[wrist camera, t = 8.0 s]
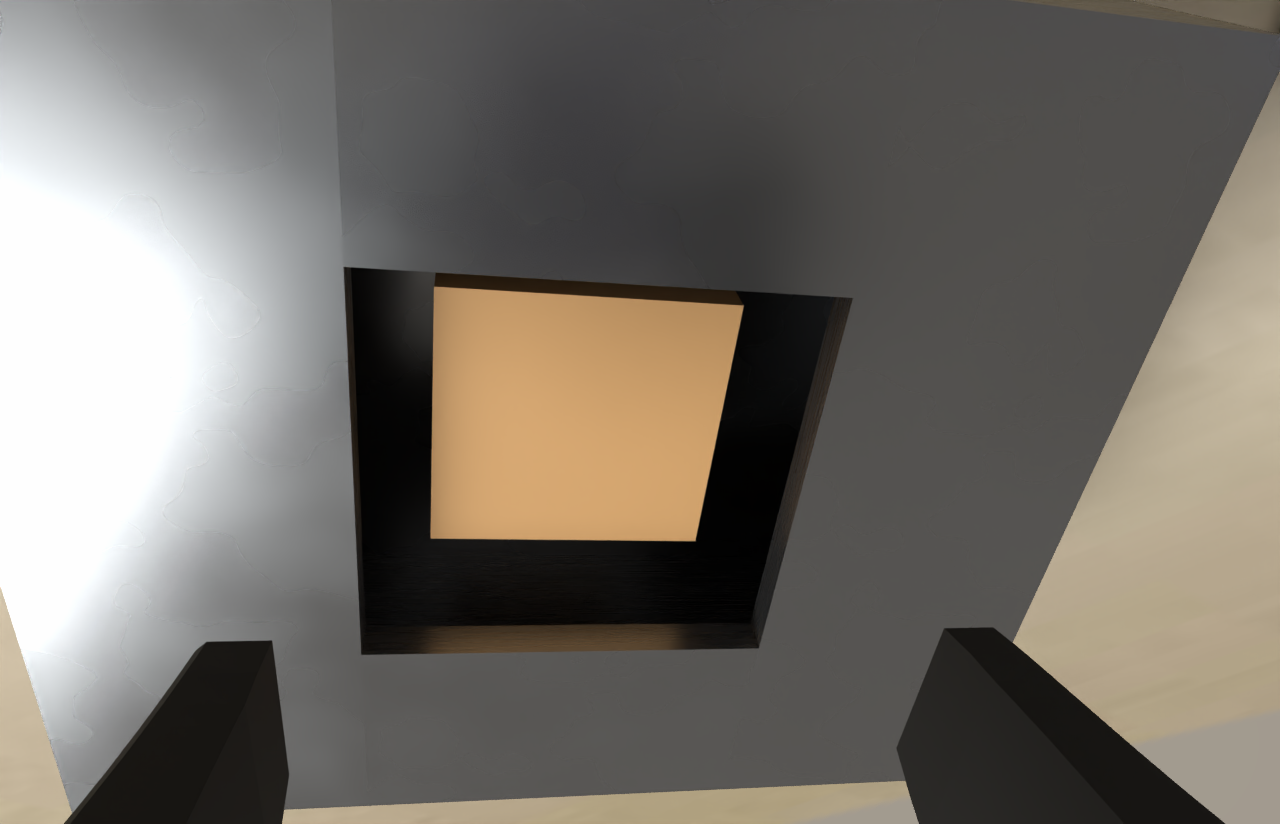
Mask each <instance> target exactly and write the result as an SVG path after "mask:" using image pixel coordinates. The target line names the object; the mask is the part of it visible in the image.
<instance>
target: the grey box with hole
mask: <svg viewBox="0 0 1280 824" xmlns="http://www.w3.org/2000/svg"><path fill="white" fill-rule="evenodd" d="M1279 71H1280V34H1276V33H1272V32H1267V31H1263V30H1258V29H1254V28H1250V27H1245V26H1241V25H1236V24H1232V23H1228V22H1223V21H1219V20H1214V19H1210V18H1205V17H1201V16H1197V15H1192V14H1188V13H1183V12H1179V11H1175V10H1170V9H1166V8H1161V7H1157V6H1152V5H1148V4H1144V3H1139V2H1135V1H1130V0H0V585H1V588H2V592H3V595H4V598H5V601H6V604H7V607H8V611H9V614H10V617H11V620H12V623H13V626H14V630H15V633H16V636H17V639H18V642H19V646H20V649H21V652H22V655H23V658H24V661H25V665H26V668H27V671H28V674H29V677H30V680H31V684H32V687H33V690H34V693H35V696H36V700H37V703H38V706H39V709H40V712H41V715H42V719H43V722H44V725H45V728H46V731H47V734H48V738H49V741H50V744H51V747H52V750H53V754H54V757H55V760H56V763H57V766H58V769H59V773H60V776H61V779H62V782H63V785H64V788H65V792H66V795H67V798H68V801H69V804H70V808H71V811H72V813H73V812H74V811H75V809H76V808H77V807H78V806H79V805H80V803H81V802H82V801H83V800H84V798H85V797H86V796H87V795H88V793H89V792H90V791H91V790H92V788H93V787H94V786H95V785H96V784H97V782H98V781H99V780H100V779H101V777H102V776H103V775H104V774H105V772H106V771H107V770H108V769H109V767H110V766H111V765H112V763H113V762H114V761H115V759H116V758H117V757H118V756H119V754H120V753H121V752H122V750H123V749H124V748H125V746H126V745H127V744H128V743H129V741H130V740H131V739H132V737H133V736H134V735H135V733H136V732H137V731H138V729H139V728H140V727H141V725H142V724H143V723H144V721H145V720H146V719H147V717H148V716H149V715H150V713H151V712H152V711H153V709H154V708H155V707H156V705H157V704H158V703H159V701H160V700H161V698H162V697H163V696H164V694H165V693H166V691H167V690H168V689H169V687H170V686H171V685H172V683H173V682H174V680H175V679H176V678H177V676H178V675H179V673H180V672H181V671H182V669H183V668H184V666H185V665H186V663H187V662H188V661H189V659H190V658H191V656H192V655H193V653H194V652H195V650H197V649H198V648H199V647H200V646H202V645H203V644H204V643H205V642H214V641H269V640H272V643H273V651H274V658H275V666H276V674H277V682H278V690H279V698H280V706H281V713H282V721H283V729H284V737H285V745H286V753H287V761H288V768H289V780H288V787H287V793H286V800H285V806H284V810H286V809H307V808H329V807H350V806H372V805H393V804H415V803H436V802H458V801H479V800H500V799H522V798H543V797H565V796H586V795H608V794H629V793H651V792H672V791H694V790H715V789H736V788H758V787H779V786H801V785H822V784H844V783H865V782H887V781H906V780H905V777H904V773H903V770H902V766H901V763H900V759H899V756H898V752H897V749H896V747H897V745H898V742H899V740H900V737H901V735H902V732H903V730H904V727H905V725H906V722H907V720H908V717H909V715H910V712H911V710H912V707H913V705H914V702H915V700H916V697H917V695H918V692H919V690H920V687H921V685H922V682H923V680H924V677H925V675H926V672H927V670H928V667H929V665H930V662H931V660H932V657H933V655H934V652H935V650H936V647H937V645H938V642H939V640H940V637H941V635H942V632H943V630H944V628H980V627H994V628H995V629H996V630H997V631H999V632H1000V633H1001V634H1002V635H1004V636H1005V637H1006V638H1007V639H1009V640H1010V641H1011V642H1012V643H1013V640H1014V638H1015V636H1016V634H1017V632H1018V630H1019V628H1020V625H1021V623H1022V621H1023V619H1024V617H1025V615H1026V613H1027V610H1028V608H1029V606H1030V604H1031V602H1032V600H1033V598H1034V595H1035V593H1036V591H1037V589H1038V587H1039V585H1040V583H1041V580H1042V578H1043V576H1044V574H1045V572H1046V570H1047V568H1048V565H1049V563H1050V561H1051V559H1052V557H1053V555H1054V553H1055V551H1056V548H1057V546H1058V544H1059V542H1060V540H1061V538H1062V536H1063V533H1064V531H1065V529H1066V527H1067V525H1068V523H1069V521H1070V518H1071V516H1072V514H1073V512H1074V510H1075V508H1076V506H1077V503H1078V501H1079V499H1080V497H1081V495H1082V493H1083V491H1084V488H1085V486H1086V484H1087V482H1088V480H1089V478H1090V476H1091V473H1092V471H1093V469H1094V467H1095V465H1096V463H1097V461H1098V458H1099V456H1100V454H1101V452H1102V450H1103V448H1104V446H1105V443H1106V441H1107V439H1108V437H1109V435H1110V433H1111V431H1112V428H1113V426H1114V424H1115V422H1116V420H1117V418H1118V416H1119V414H1120V411H1121V409H1122V407H1123V405H1124V403H1125V401H1126V399H1127V396H1128V394H1129V392H1130V390H1131V388H1132V386H1133V384H1134V381H1135V379H1136V377H1137V375H1138V373H1139V371H1140V369H1141V366H1142V364H1143V362H1144V360H1145V358H1146V356H1147V354H1148V351H1149V349H1150V347H1151V345H1152V343H1153V341H1154V339H1155V336H1156V334H1157V332H1158V330H1159V328H1160V326H1161V324H1162V321H1163V319H1164V317H1165V315H1166V313H1167V311H1168V309H1169V306H1170V304H1171V302H1172V300H1173V298H1174V296H1175V294H1176V291H1177V289H1178V287H1179V285H1180V283H1181V281H1182V279H1183V276H1184V274H1185V272H1186V270H1187V268H1188V266H1189V264H1190V262H1191V259H1192V257H1193V255H1194V253H1195V251H1196V249H1197V247H1198V244H1199V242H1200V240H1201V238H1202V236H1203V234H1204V232H1205V229H1206V227H1207V225H1208V223H1209V221H1210V219H1211V217H1212V214H1213V212H1214V210H1215V208H1216V206H1217V204H1218V202H1219V199H1220V197H1221V195H1222V193H1223V191H1224V189H1225V187H1226V184H1227V182H1228V180H1229V178H1230V176H1231V174H1232V172H1233V169H1234V167H1235V165H1236V163H1237V161H1238V159H1239V157H1240V154H1241V152H1242V150H1243V148H1244V146H1245V144H1246V142H1247V139H1248V137H1249V135H1250V133H1251V131H1252V129H1253V127H1254V125H1255V122H1256V120H1257V118H1258V116H1259V114H1260V112H1261V110H1262V107H1263V105H1264V103H1265V101H1266V99H1267V97H1268V95H1269V92H1270V90H1271V88H1272V86H1273V84H1274V82H1275V80H1276V77H1277V75H1278V73H1279ZM436 272H437V273H453V274H470V275H486V276H502V277H519V278H535V279H552V280H568V281H584V282H601V283H617V284H634V285H650V286H666V287H683V288H699V289H715V290H732V291H736V293H737V295H738V296H739V298H740V300H741V302H742V303H743V305H744V307H743V312H742V317H741V322H740V326H739V331H738V336H737V341H736V346H735V351H734V356H733V360H732V365H731V370H730V375H729V380H728V385H727V390H726V394H725V399H724V404H723V409H722V414H721V419H720V424H719V428H718V433H717V438H716V443H715V448H714V453H713V458H712V462H711V467H710V472H709V477H708V482H707V487H706V492H705V496H704V501H703V506H702V511H701V516H700V521H699V526H698V530H697V535H696V540H695V541H629V540H527V539H431V467H432V392H433V318H434V282H435V274H436Z"/></svg>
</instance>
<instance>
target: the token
mask: <svg viewBox="0 0 1280 824" xmlns="http://www.w3.org/2000/svg"><path fill="white" fill-rule="evenodd" d="M743 307H744V305H743V303H742V302H741V300H740V298H739V296H738V295H737V293H736V291H732V290H715V289H699V288H683V287H666V286H650V285H634V284H617V283H601V282H584V281H568V280H552V279H535V278H519V277H502V276H486V275H470V274H453V273H437V272H436V274H435V282H434V318H433V392H432V467H431V539H527V540H629V541H695V540H696V535H697V530H698V526H699V521H700V516H701V511H702V506H703V501H704V496H705V492H706V487H707V482H708V477H709V472H710V467H711V462H712V458H713V453H714V448H715V443H716V438H717V433H718V428H719V424H720V419H721V414H722V409H723V404H724V399H725V394H726V390H727V385H728V380H729V375H730V370H731V365H732V360H733V356H734V351H735V346H736V341H737V336H738V331H739V326H740V322H741V317H742V312H743Z"/></svg>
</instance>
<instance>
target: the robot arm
mask: <svg viewBox="0 0 1280 824" xmlns="http://www.w3.org/2000/svg"><path fill="white" fill-rule="evenodd" d="M896 749H897V752H898V756H899V759H900V763H901V766H902V770H903V773H904V777H905V780H906V784H907V787H908V790H909V794H910V797H911V800H912V804H913V807H914V810H915V813H916V816H917V819H918V822H919V824H1225V823H1224V822H1222V821H1221V820H1220V819H1219V818H1218V817H1216V816H1215V815H1214V814H1213V813H1212V812H1210V811H1209V810H1208V809H1207V808H1205V807H1204V806H1203V805H1202V804H1200V803H1199V802H1198V801H1197V800H1196V799H1194V798H1193V797H1192V796H1191V795H1189V794H1188V793H1187V792H1186V791H1185V790H1184V789H1182V788H1181V787H1180V786H1179V785H1177V784H1176V783H1175V782H1174V781H1173V780H1172V779H1170V778H1169V777H1168V776H1167V775H1166V774H1164V773H1163V772H1162V771H1161V770H1160V769H1159V768H1157V767H1156V766H1155V765H1154V764H1153V763H1151V762H1150V761H1149V760H1148V759H1147V758H1146V757H1144V756H1143V755H1142V754H1141V753H1140V752H1138V751H1137V750H1136V749H1135V748H1134V747H1133V746H1132V745H1130V744H1129V743H1128V742H1127V741H1126V740H1125V739H1123V738H1122V737H1121V736H1120V735H1119V734H1118V733H1116V732H1115V731H1114V730H1113V729H1112V728H1111V727H1110V726H1108V725H1107V724H1106V723H1105V722H1104V721H1103V720H1101V719H1100V718H1099V717H1098V716H1097V715H1096V714H1095V713H1093V712H1092V711H1091V710H1090V709H1089V708H1088V707H1087V706H1085V705H1084V704H1083V703H1082V702H1081V701H1080V700H1079V699H1077V698H1076V697H1075V696H1074V695H1073V694H1072V693H1070V692H1069V691H1068V690H1067V689H1066V688H1065V687H1064V686H1062V685H1061V684H1060V683H1059V682H1058V681H1057V680H1056V679H1054V678H1053V677H1052V676H1051V675H1050V674H1049V673H1047V672H1046V671H1045V670H1044V669H1043V668H1042V667H1041V666H1039V665H1038V664H1037V663H1036V662H1035V661H1034V660H1032V659H1031V658H1030V657H1029V656H1028V655H1027V654H1025V653H1024V652H1023V651H1022V650H1021V649H1019V648H1018V647H1017V646H1016V645H1015V644H1013V643H1012V642H1011V641H1010V640H1009V639H1007V638H1006V637H1005V636H1004V635H1002V634H1001V633H1000V632H999V631H997V630H996V629H995V628H994V627H980V628H944V630H943V632H942V635H941V637H940V640H939V642H938V645H937V647H936V650H935V652H934V655H933V657H932V660H931V662H930V665H929V667H928V670H927V672H926V675H925V677H924V680H923V682H922V685H921V687H920V690H919V692H918V695H917V697H916V700H915V702H914V705H913V707H912V710H911V712H910V715H909V717H908V720H907V722H906V725H905V727H904V730H903V732H902V735H901V737H900V740H899V742H898V745H897V747H896ZM288 780H289V768H288V761H287V753H286V745H285V737H284V729H283V721H282V713H281V706H280V698H279V690H278V682H277V674H276V666H275V658H274V651H273V643H272V640H269V641H214V642H205V643H204V644H203V645H202V646H200V647H199V648H198V649H197V650H195V652H194V653H193V655H192V656H191V658H190V659H189V661H188V662H187V663H186V665H185V666H184V668H183V669H182V671H181V672H180V673H179V675H178V676H177V678H176V679H175V680H174V682H173V683H172V685H171V686H170V687H169V689H168V690H167V691H166V693H165V694H164V696H163V697H162V698H161V700H160V701H159V703H158V704H157V705H156V707H155V708H154V709H153V711H152V712H151V713H150V715H149V716H148V717H147V719H146V720H145V721H144V723H143V724H142V725H141V727H140V728H139V729H138V731H137V732H136V733H135V735H134V736H133V737H132V739H131V740H130V741H129V743H128V744H127V745H126V746H125V748H124V749H123V750H122V752H121V753H120V754H119V756H118V757H117V758H116V759H115V761H114V762H113V763H112V765H111V766H110V767H109V769H108V770H107V771H106V772H105V774H104V775H103V776H102V777H101V779H100V780H99V781H98V782H97V784H96V785H95V786H94V787H93V788H92V790H91V791H90V792H89V793H88V795H87V796H86V797H85V798H84V800H83V801H82V802H81V803H80V805H79V806H78V807H77V808H76V809H75V811H74V812H73V813H72V814H71V816H70V817H69V818H68V819H67V821H66V822H65V823H64V824H282V819H283V813H284V806H285V800H286V793H287V787H288Z"/></svg>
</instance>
